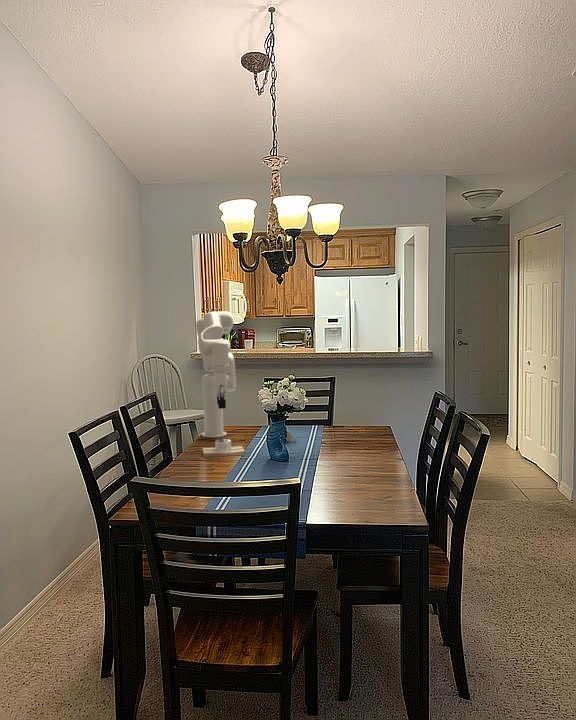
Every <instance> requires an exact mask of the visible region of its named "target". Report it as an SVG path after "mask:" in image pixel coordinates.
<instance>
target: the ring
mask: <svg viewBox="0 0 576 720" xmlns="http://www.w3.org/2000/svg"><path fill="white" fill-rule="evenodd" d="M226 439H227V438H226ZM219 440H220V439H216V440H215V441H214V442H215V443H214V445H215V446H214V447H215V450H216V451H221V452H223V451H230V450H231V446H232V440H231V439H227V442H219Z"/></svg>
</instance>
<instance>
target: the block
mask: <svg viewBox="0 0 576 720" xmlns="http://www.w3.org/2000/svg"><path fill="white" fill-rule="evenodd" d="M202 454H203V455H202V456H203V458H210V457H211V458H212V457H213V458H215V457H230V456H233V457H234V456H245V454H246V451H245V450H244V447H243V445H233V446H232V445H231V450H230V451H223V452H221V451H216V450H215V446H214V447H202Z"/></svg>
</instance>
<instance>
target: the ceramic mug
mask: <svg viewBox="0 0 576 720" xmlns="http://www.w3.org/2000/svg"><path fill="white" fill-rule="evenodd" d="M290 441H291V442H296V441H297V437H295V436H293V435H291V432H290V430H289V429H288V428H287V442H290ZM287 442H286V443H287Z"/></svg>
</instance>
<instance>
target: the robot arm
mask: <svg viewBox="0 0 576 720" xmlns="http://www.w3.org/2000/svg"><path fill="white" fill-rule="evenodd" d="M195 323H196V324H195V328H196V332H197V336H198V341H197V343H198V350H199V353H200V355H201V356H202V365H203V369H204V370H205V371H207V372H212V373H207V374H204V375H203V376H202V377H201V389H202V397H203V419H204V432H202V433H201V436H202V437H203V438H209V439H210V438H222V437H224V436H225V437H226V436H227V434H228V433H227V431H224V409H226V406H227V405H226V404H227V403H226V401H227V400H226V395H227V392H228V393H229V392H234V391H235V390H236V388H237V376H236V363H235V358H234V357H235V356H234V354H232V353H231V347H232V346H231V342H229V340H228V339H225V338H222V337H223V336H224V335H226V334H228V335H229V334H230V333H231V331H232V329H233V327H234V317H233V314H232V313H231V312H230V311H209V312H206V314H204V316H203V318H199V319H197V320H196V322H195ZM221 338H222V339H221Z"/></svg>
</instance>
